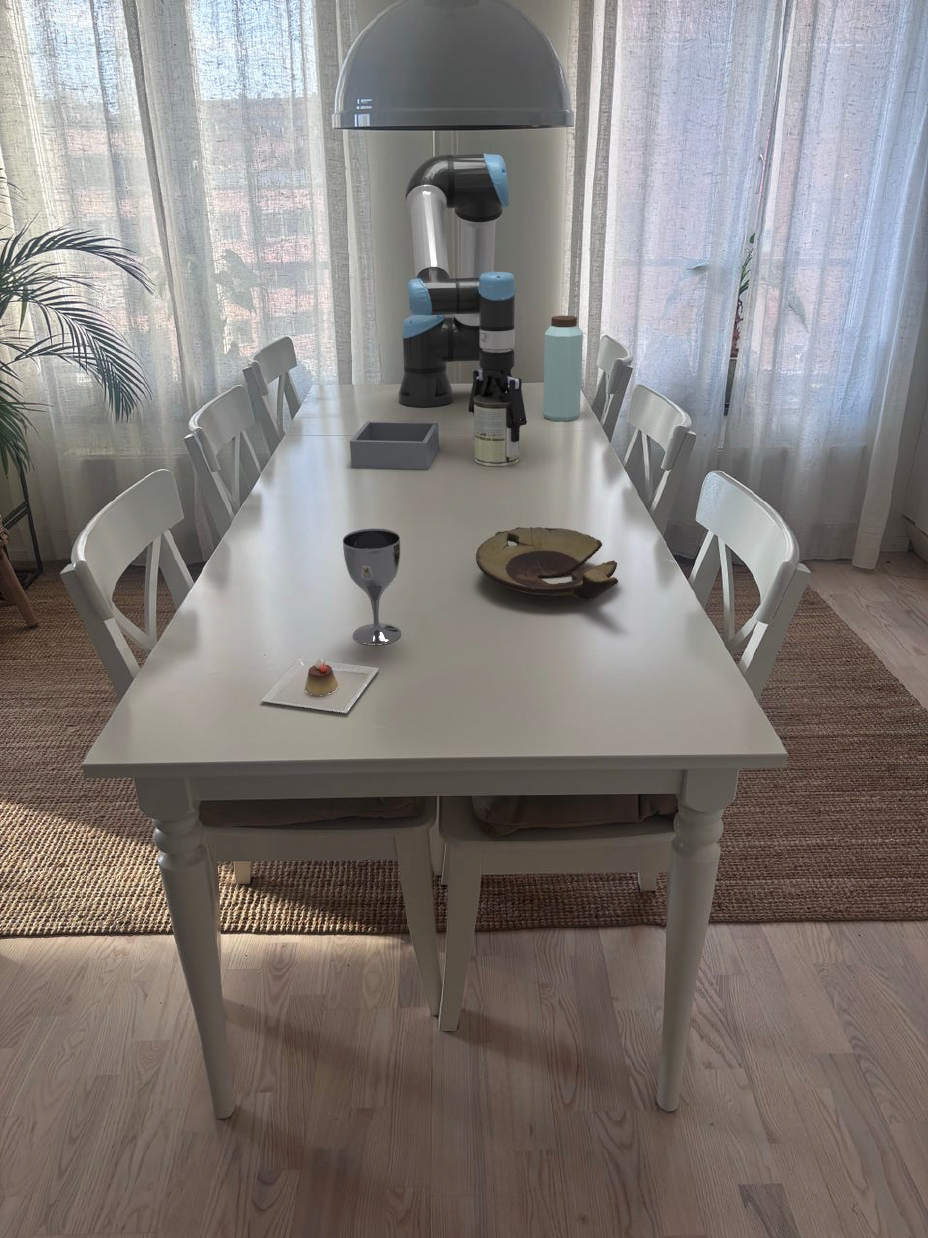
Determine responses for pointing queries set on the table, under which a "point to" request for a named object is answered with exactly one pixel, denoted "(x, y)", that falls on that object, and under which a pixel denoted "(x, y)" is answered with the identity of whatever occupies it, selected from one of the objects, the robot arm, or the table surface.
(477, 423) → the coffee can
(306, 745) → the table surface
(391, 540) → the wine glass
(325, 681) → the dessert
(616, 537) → the table surface
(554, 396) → the water bottle
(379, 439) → the bin
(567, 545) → the brown shallow dish
